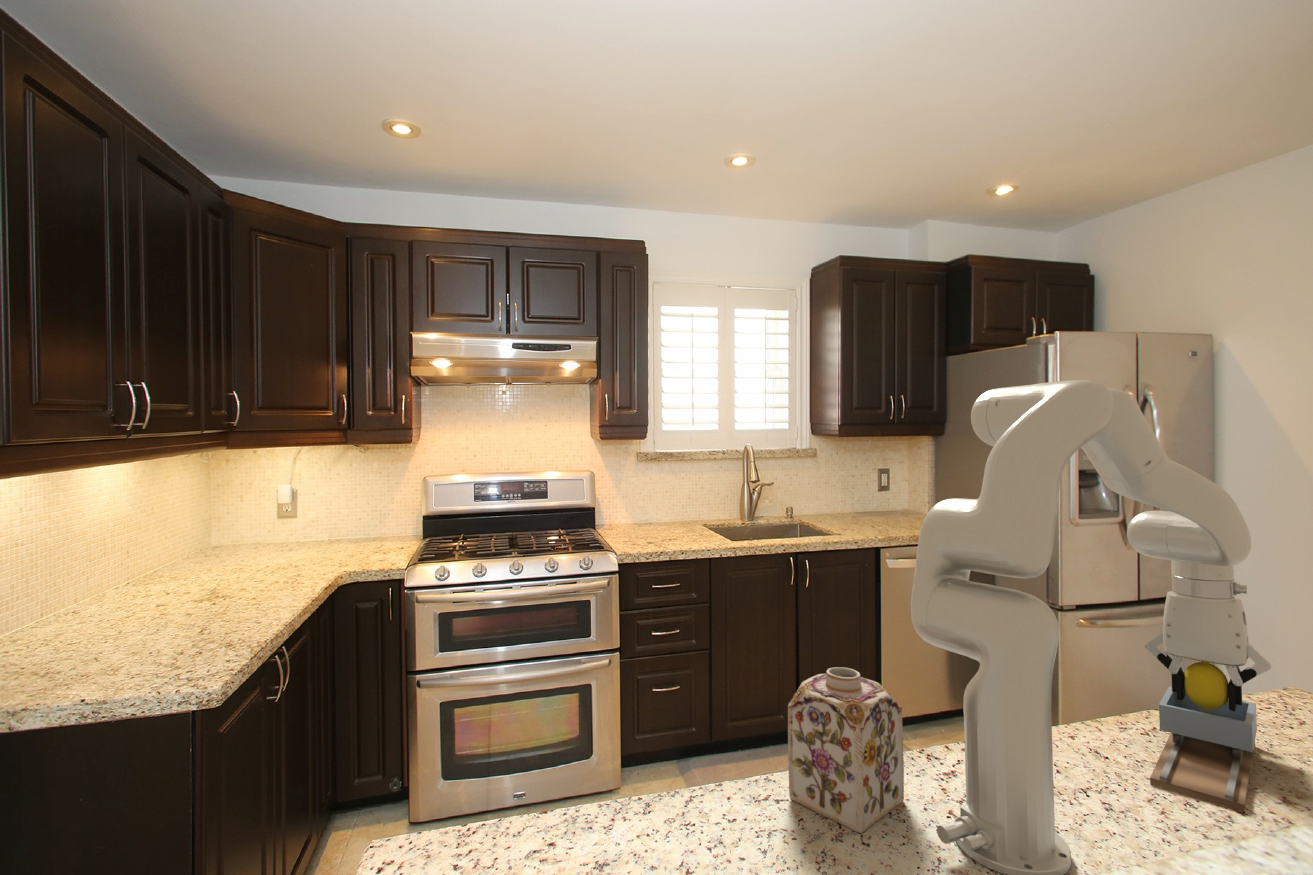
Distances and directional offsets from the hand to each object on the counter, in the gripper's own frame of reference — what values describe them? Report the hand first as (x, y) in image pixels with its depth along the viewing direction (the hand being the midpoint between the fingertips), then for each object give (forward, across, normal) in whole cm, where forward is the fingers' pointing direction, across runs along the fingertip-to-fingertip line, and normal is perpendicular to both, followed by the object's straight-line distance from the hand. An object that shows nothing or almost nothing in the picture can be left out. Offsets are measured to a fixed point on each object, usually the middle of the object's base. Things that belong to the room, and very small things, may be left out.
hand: (1206, 701), depth 100 cm
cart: (+7, 0, -1) cm, 7 cm away
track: (+8, 0, +4) cm, 9 cm away
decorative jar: (+9, +34, +51) cm, 62 cm away
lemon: (+2, 0, 0) cm, 2 cm away
